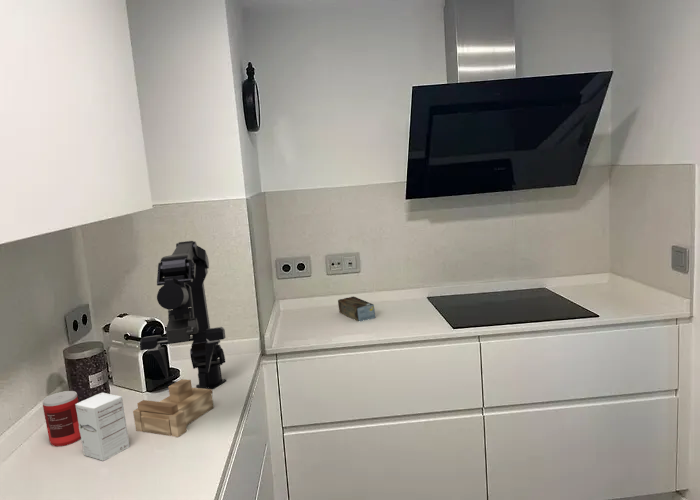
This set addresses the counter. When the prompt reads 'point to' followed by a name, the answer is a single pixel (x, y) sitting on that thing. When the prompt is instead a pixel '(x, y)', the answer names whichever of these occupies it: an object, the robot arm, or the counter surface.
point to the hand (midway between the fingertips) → (187, 375)
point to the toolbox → (173, 419)
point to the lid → (181, 397)
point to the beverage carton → (356, 308)
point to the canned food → (62, 418)
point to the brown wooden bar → (157, 407)
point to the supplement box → (102, 426)
